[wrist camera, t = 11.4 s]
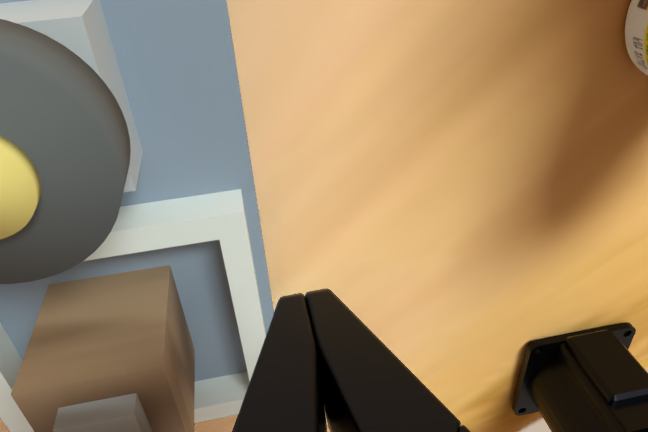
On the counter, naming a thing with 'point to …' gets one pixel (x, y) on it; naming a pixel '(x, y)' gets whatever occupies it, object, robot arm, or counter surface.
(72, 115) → the wheel
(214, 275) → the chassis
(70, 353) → the brown block
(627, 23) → the supplement bottle
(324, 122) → the counter surface
